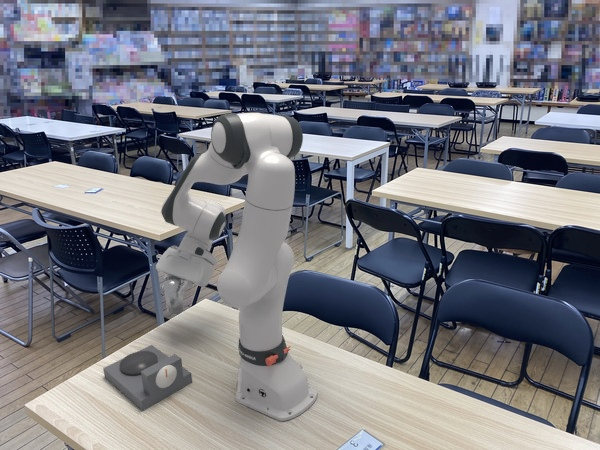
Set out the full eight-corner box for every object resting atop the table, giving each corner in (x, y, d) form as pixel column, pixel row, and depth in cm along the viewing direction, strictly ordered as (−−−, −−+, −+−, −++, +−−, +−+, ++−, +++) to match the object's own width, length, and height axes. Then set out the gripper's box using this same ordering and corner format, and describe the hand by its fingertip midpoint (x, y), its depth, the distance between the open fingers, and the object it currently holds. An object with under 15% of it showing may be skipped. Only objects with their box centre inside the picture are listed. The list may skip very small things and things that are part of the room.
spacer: (187, 309, 144) (183, 279, 141) (173, 315, 141) (169, 285, 137) (178, 304, 147) (174, 274, 144) (164, 310, 144) (159, 280, 141)
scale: (193, 382, 130) (190, 354, 127) (143, 412, 120) (139, 381, 116) (152, 353, 143) (149, 326, 140) (104, 377, 133) (99, 348, 130)
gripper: (164, 240, 149) (142, 280, 145) (210, 253, 138) (188, 297, 134) (176, 248, 154) (156, 287, 150) (222, 262, 143) (201, 304, 138)
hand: (171, 292), depth 142 cm, fingers closed on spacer, 5 cm apart
